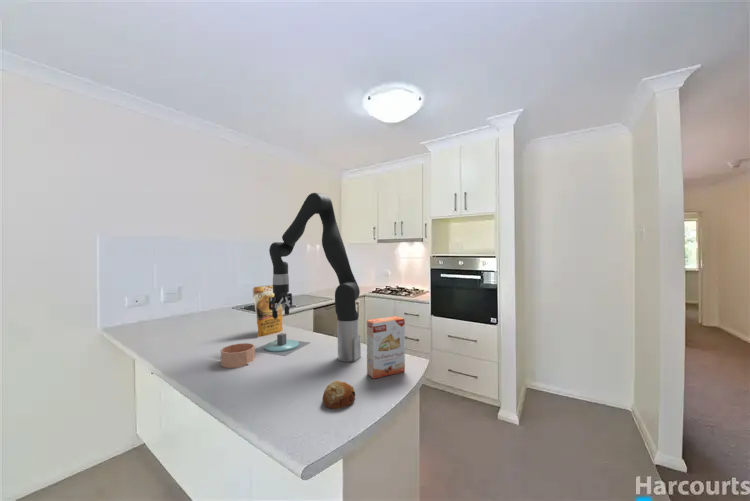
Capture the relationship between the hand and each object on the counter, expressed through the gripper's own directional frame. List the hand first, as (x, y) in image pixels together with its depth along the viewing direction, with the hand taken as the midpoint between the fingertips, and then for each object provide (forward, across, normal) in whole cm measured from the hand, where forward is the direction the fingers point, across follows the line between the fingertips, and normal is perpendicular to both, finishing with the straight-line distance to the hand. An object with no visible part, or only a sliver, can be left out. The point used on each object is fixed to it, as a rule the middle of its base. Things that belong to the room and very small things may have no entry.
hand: (281, 316), depth 146 cm
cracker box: (+15, -10, -58) cm, 61 cm away
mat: (+16, 0, 0) cm, 16 cm away
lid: (+15, 0, 0) cm, 15 cm away
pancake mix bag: (+16, +17, +23) cm, 33 cm away
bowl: (+16, -21, +6) cm, 27 cm away
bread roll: (+16, -35, -51) cm, 64 cm away
